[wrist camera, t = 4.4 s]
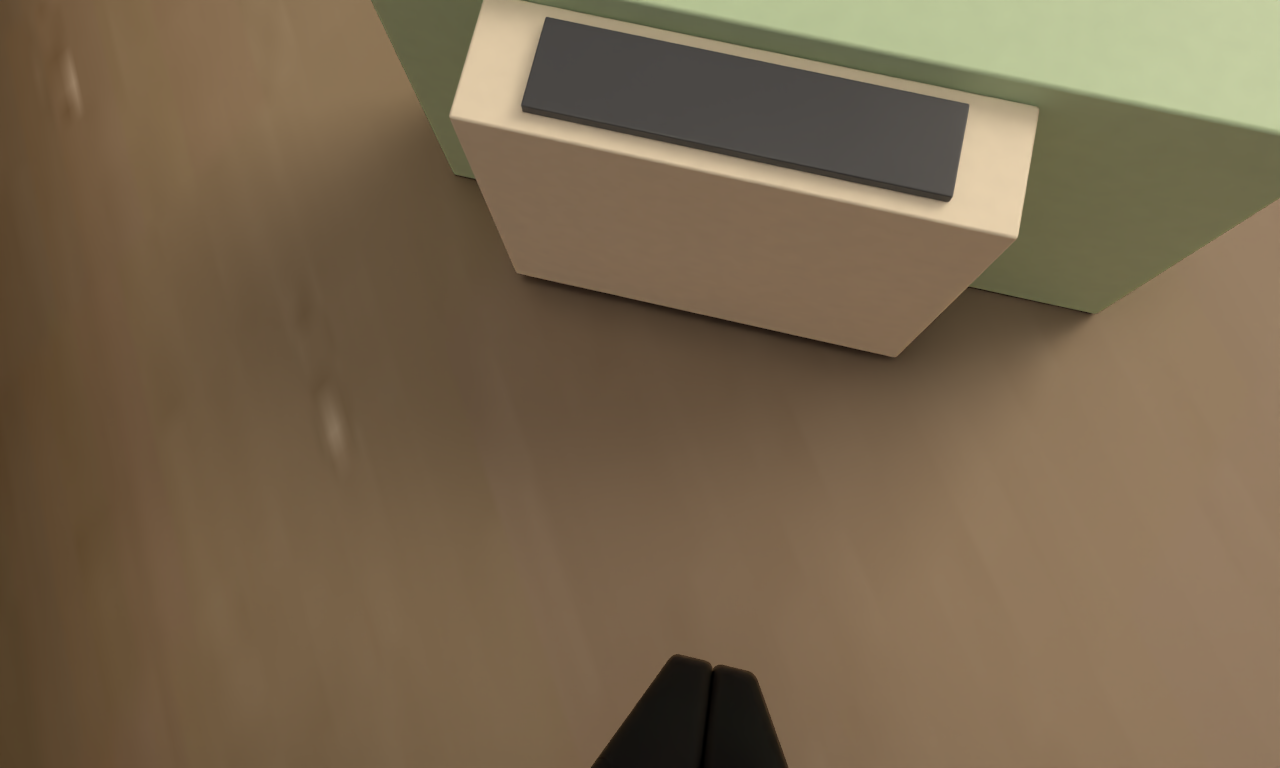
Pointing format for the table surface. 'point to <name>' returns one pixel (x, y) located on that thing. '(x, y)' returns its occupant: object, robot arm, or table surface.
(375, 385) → the table surface
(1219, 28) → the toy car
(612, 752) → the robot arm
